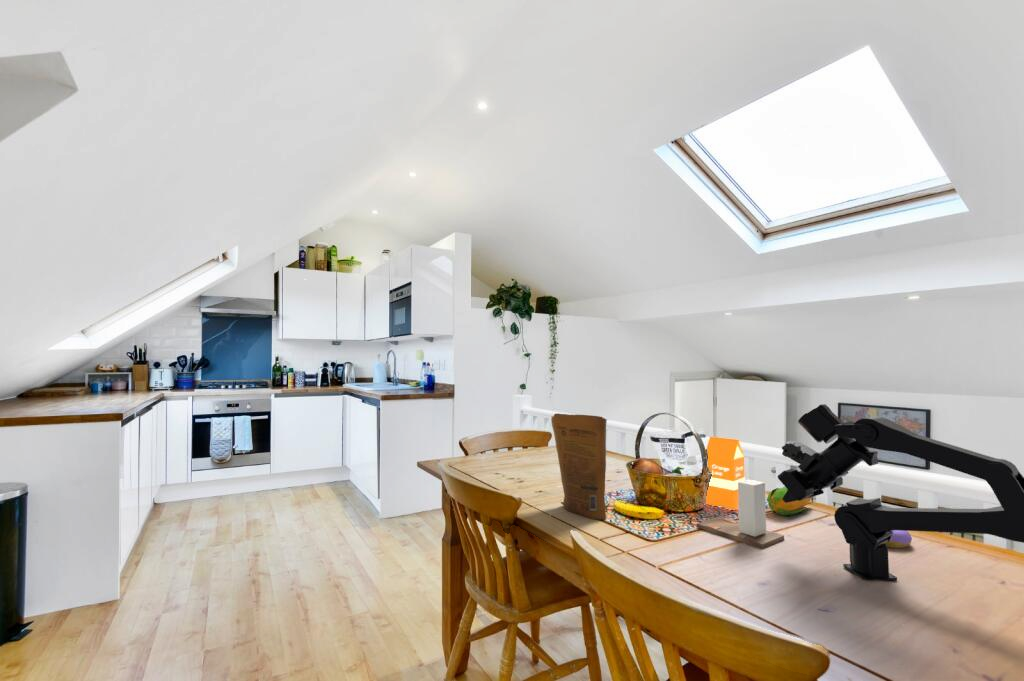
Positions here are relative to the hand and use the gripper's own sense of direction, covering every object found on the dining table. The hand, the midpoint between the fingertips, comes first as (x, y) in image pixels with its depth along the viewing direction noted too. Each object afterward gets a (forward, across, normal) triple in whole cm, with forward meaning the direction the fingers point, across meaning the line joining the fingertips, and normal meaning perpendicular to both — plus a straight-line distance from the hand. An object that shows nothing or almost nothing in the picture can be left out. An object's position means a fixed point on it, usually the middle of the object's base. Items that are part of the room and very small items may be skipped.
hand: (784, 500), depth 110 cm
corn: (+17, -30, -1) cm, 34 cm away
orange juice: (+26, -19, -11) cm, 34 cm away
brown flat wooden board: (+16, 0, 0) cm, 16 cm away
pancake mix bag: (+40, +22, -24) cm, 51 cm away
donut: (0, -24, +16) cm, 29 cm away
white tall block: (+12, 0, +1) cm, 12 cm away
